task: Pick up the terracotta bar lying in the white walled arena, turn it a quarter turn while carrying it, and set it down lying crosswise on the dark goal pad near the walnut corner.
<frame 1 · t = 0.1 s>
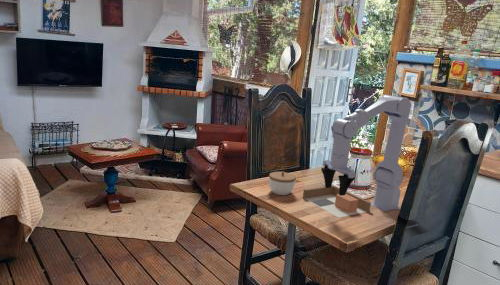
hand: (335, 191, 132), 10 cm above the table, tool pointing down, fingers open, 7 cm apart
arena: (334, 205, 145), on the table
bar: (345, 208, 142), point 1 cm above the table, touching arena
lidded jar: (280, 194, 153), on the table
goal pad: (323, 202, 146), resting on arena
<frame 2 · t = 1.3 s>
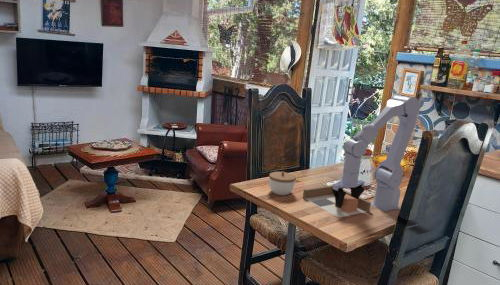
hand: (345, 205, 142), 2 cm above the table, tool pointing down, fingers open, 7 cm apart
nothing on the table moved.
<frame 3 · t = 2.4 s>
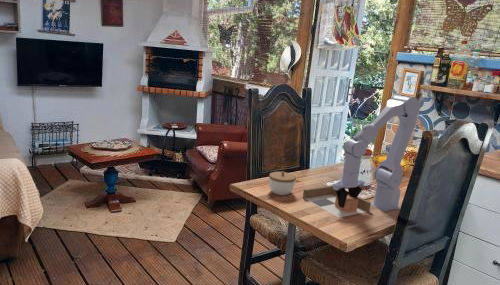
hand: (345, 205, 142), 2 cm above the table, tool pointing down, fingers closed on bar, 4 cm apart
bar: (345, 208, 142), point 1 cm above the table, touching arena, gripper
everything else where it was.
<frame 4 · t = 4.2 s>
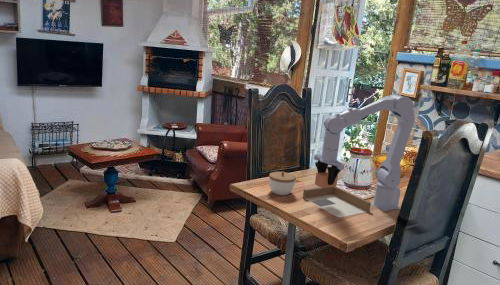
hand: (325, 182, 144), 9 cm above the table, tool pointing down, fingers closed on bar, 4 cm apart
bar: (325, 185, 144), point 8 cm above the table, touching gripper
everything else where it was.
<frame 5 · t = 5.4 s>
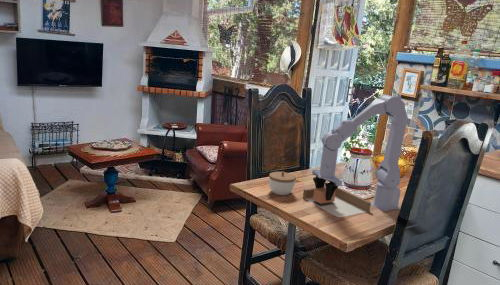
hand: (323, 197, 145), 3 cm above the table, tool pointing down, fingers closed on bar, 4 cm apart
bar: (323, 200, 146), point 1 cm above the table, touching gripper
everything else where it was.
when the fingers open (3 cm above the table, at t = 6.2 s): bar stays where it is, resting on goal pad.
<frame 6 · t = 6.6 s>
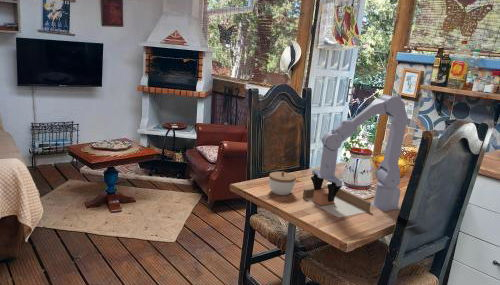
hand: (323, 197, 145), 3 cm above the table, tool pointing down, fingers open, 7 cm apart
bar: (323, 202, 146), point 1 cm above the table, touching goal pad
everything else where it was.
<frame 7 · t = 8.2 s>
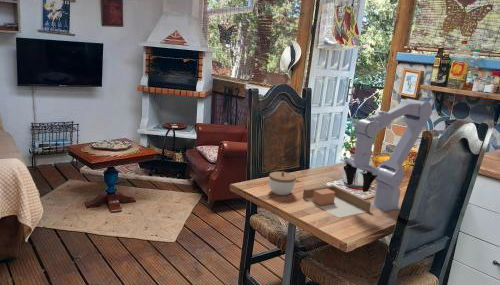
hand: (357, 187, 139), 9 cm above the table, tool pointing down, fingers open, 7 cm apart
nothing on the table moved.
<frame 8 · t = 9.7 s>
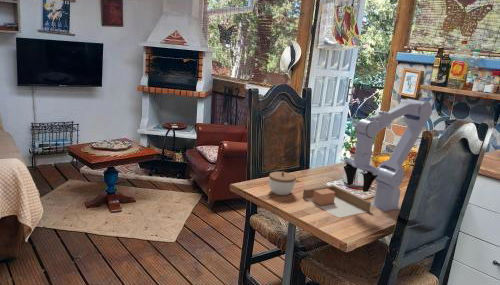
hand: (357, 187, 139), 9 cm above the table, tool pointing down, fingers open, 7 cm apart
nothing on the table moved.
at the end: bar 0.1 cm from the target spot, point 0.7 cm above the table; bar tilted 0°; the gripper is holding nothing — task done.
